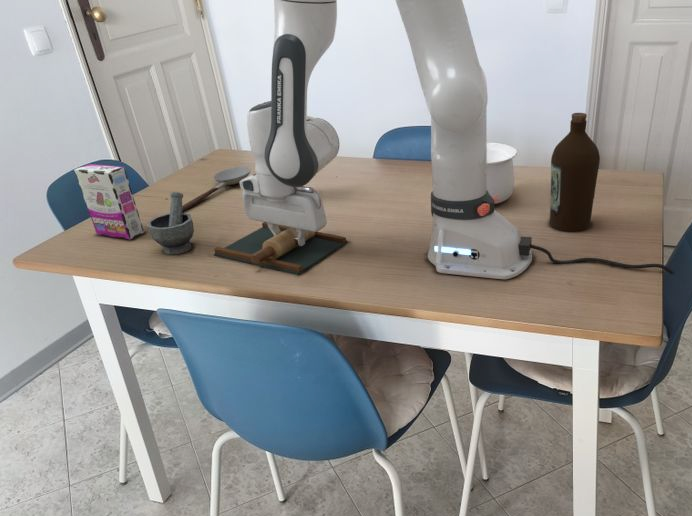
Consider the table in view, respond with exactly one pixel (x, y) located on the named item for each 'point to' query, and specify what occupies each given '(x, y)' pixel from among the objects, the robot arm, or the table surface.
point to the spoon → (222, 183)
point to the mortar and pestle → (173, 227)
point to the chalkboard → (288, 262)
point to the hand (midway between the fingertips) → (290, 242)
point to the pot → (500, 170)
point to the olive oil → (573, 178)
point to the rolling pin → (279, 245)
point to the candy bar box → (109, 201)
